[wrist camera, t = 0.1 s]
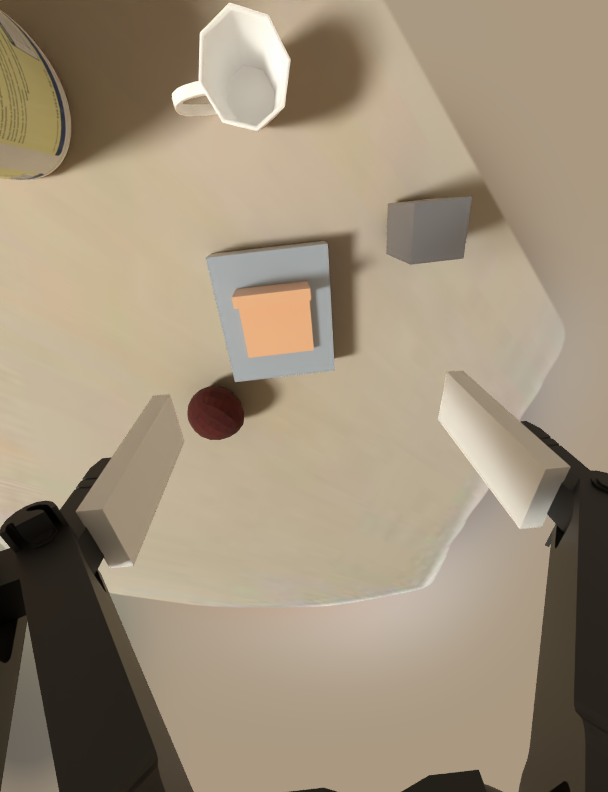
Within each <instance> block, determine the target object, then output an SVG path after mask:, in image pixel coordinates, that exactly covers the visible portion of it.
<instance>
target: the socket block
mask: <svg viewBox="0 0 608 792" xmlns="http://www.w3.org/2000/svg"><path fill="white" fill-rule="evenodd" d="M206 261H207V266H208V270H209V274H210V278H211V283H212V287H213V291H214V295H215V300H216V304H217V308H218V312H219V316H220V321H221V325H222V329H223V333H224V338H225V342H226V346H227V350H228V355H229V359H230V363H231V367H232V372H233V376H234V380H235V382H241V381H249V380H258V379H266V378H275V377H283V376H292V375H300V374H309V373H317V372H326V371H334V370H335V367H334V349H333V330H332V312H331V294H330V276H329V258H328V244H327V243H326V242H325V241H317V242H308V243H300V244H291V245H282V246H274V247H265V248H256V249H248V250H239V251H230V252H222V253H213V254H210V255H209V256H208V257H206ZM302 281H308V284H309V286H310V292H311V300H310V311H311V322H312V334H313V345H314V350H313V351H304V352H296V353H287V354H279V355H270V356H261V357H253V358H249V357H248V352H247V348H246V343H245V338H244V333H243V328H242V323H241V318H240V313H239V309H234V307H233V302H232V298H231V297H232V296H233V294H234V292H235V290H236V289H242V288H250V287H259V286H267V285H276V284H285V283H293V282H302Z"/></svg>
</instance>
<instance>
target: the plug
mask: <svg viewBox="0 0 608 792" xmlns="http://www.w3.org/2000/svg"><path fill="white" fill-rule="evenodd" d="M471 201H472V196H467V197H449V198H432V199H424V200H415V201H406V202H397V203H389V204H388V218H387V251H386V254H388V255H390V256H393V257H395V258H397V259H399V260H402V261H404V262H406V263H408V264H419V263H428V262H436V261H445V260H454V259H462V258H463V257H464V250H465V243H466V236H467V229H468V222H469V215H470V208H471Z"/></svg>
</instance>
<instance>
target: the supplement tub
mask: <svg viewBox="0 0 608 792" xmlns="http://www.w3.org/2000/svg"><path fill="white" fill-rule="evenodd" d="M70 139H71V116H70V110H69V105H68V101H67V98H66V95H65V92H64V89H63V87H62V84H61V82H60V80H59V78H58V76H57V74H56V72H55V70H54V69H53V67H52V65H51V64H50V62H49V60H48V59H47V57H46V56H45V55H44V53H43V52H42V50H41V49H40V48H39V47H38V45H37V44H36V43H35V42H34V41H33V39H32V38H31V37H30V36H29V35H28V34H27V33H26V32H25V30H24V29H23V28H22V27H21V26H20V25H18V24H17V23H16V22H15V21H14V20H13V19H12V18H10V17H9V16H8V15H7V14H5V13H4V12H3V11H1V10H0V178H3V179H12V180H34V179H38V178H42V177H44V176H46V175H48V174H50V173H52V172H53V171H54V170H55V169H56V168H57V167H58V166H59V165H60V164H61V163H62V161H63V160H64V158H65V156H66V154H67V151H68V148H69V145H70Z"/></svg>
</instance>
